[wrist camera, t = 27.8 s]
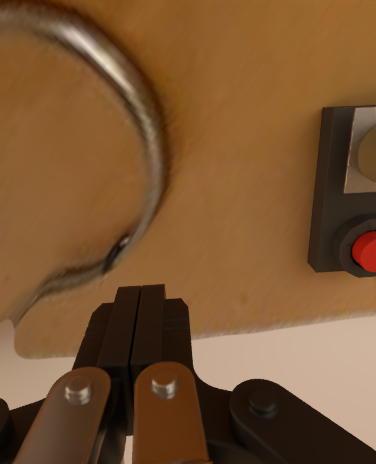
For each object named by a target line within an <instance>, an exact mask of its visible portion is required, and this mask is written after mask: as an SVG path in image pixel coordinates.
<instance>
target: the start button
mask: <svg viewBox="0 0 376 464" xmlns="http://www.w3.org/2000/svg"><path fill="white" fill-rule="evenodd" d="M352 256H353V258H354V260H355V261H356V262H358V263H359V264H360V265H361V266H362V267H363V268H364V269H366V270H367V271H370V272H376V231H370V232H366V233H364V234H362V235H361V236H359V237H358V238H357V239H356V241H355V242H354V244H353V246H352Z"/></svg>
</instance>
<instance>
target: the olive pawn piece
mask: <svg viewBox="0 0 376 464" xmlns="http://www.w3.org/2000/svg"><path fill="white" fill-rule="evenodd" d="M358 165H359V169H360V171H361V173H362V174H363V175H364V176H365V177H366V178H367V179H369V180H371V181H373V182H376V126H375V127H373V128H372V129H371V130H370V131H369V132H368V133H367V134H366V136H365V137H364V139H363V140H362V142H361V144H360V147H359V150H358Z"/></svg>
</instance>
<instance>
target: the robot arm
mask: <svg viewBox="0 0 376 464" xmlns="http://www.w3.org/2000/svg"><path fill="white" fill-rule="evenodd" d="M131 435H133V452H132V464H376V451H375V450H374V449H372V448H371V447H369V446H368V445H366V444H365V443H364V442H362V441H361V440H359V439H358V438H356V437H355V436H353V435H352V434H350V433H349V432H347V431H346V430H344V429H343V428H342V427H340V426H339V425H337V424H336V423H334V422H333V421H331V420H330V419H329V418H327V417H325V416H324V415H323V414H321V413H320V412H318V411H317V410H315V409H314V408H312V407H311V406H310V405H308V404H306V403H305V402H303V401H302V400H301V399H299V398H298V397H296V396H295V395H293V394H292V393H291V392H289V391H288V390H286V389H285V388H283V387H282V386H280V385H278V384H277V383H274V382H272V381H269V380H264V379H250V380H247V381H244V382H242V383H240V384H239V385H237V386H236V387H235V388H234V390H233V391H227V390H222V389H218V388H215V387H212V386H210V385H208V384H206V383H205V382H203V381H202V380H201V379H200V378H199V377H198V376H197V374H196V373H195V370H194V368H193V360H192V347H191V335H190V323H189V311H188V306H187V305H186V304H185V303H184V301H183V300H182V299H181V298H177V299H166V292H165V284H158V285H143V286H142V287H141V286H127V287H119V288H118V290H117V294H116V297H115V301H114V303H102V304H101V305H100V306H99V307H98V308H97V309H96V310H95V311H94V312H93V313H92V316H91V319H90V321H89V324H88V327H87V330H86V332H85V336H84V338H83V340H82V343H81V346H80V349H79V351H78V354H77V357H76V360H75V362H74V365H73V368H72V371H70V372H68V373H66V374H64V375H63V376H62V377H60V378H59V379H58V380H57V381H56V382H55V383H54V384H53V386H52V387H51V389H50V391H49V393H48V395H47V397H46V398H44V399H42V400H40V401H37V402H34V403H31V404H28V405H25V406H22V407H19V408H16V409H13V410H10V411H9V408H8V405H7V403H6V402H5V401H4V400H3V399H1V398H0V464H124V457H123V456H124V450H125V443H126V436H131Z"/></svg>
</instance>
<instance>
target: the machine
mask: <svg viewBox="0 0 376 464" xmlns="http://www.w3.org/2000/svg"><path fill="white" fill-rule="evenodd" d="M366 107H376V105H365V106H344V107H323V111H322V121H321V131H320V141H319V151H318V161H317V171H316V181H315V191H314V201H313V211H312V221H311V231H310V241H309V251H308V261H307V262H308V264H309V265H310V266H311V267H312V268H313V270H314V271H315V272H316V273H317V272H333V271H346V272H348V273H350V274H352V275H354V276H356V277H359V278H360V277H374V276H376V272H370V271H367V270H366V269H364V268H363V267H362V266H361V265H360V264H359V263H358V262H356V261H355V260H354V258H353V256H352V246H353V244H354V242H355V241H356V239H357V238H358V237H359V236H361V235H362V234H364V233H366V232H370V231H376V192H363V193H343V189H344V181H345V174H346V166H347V159H348V151H349V143H350V136H351V128H352V121H353V113H354V108H366Z"/></svg>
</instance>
